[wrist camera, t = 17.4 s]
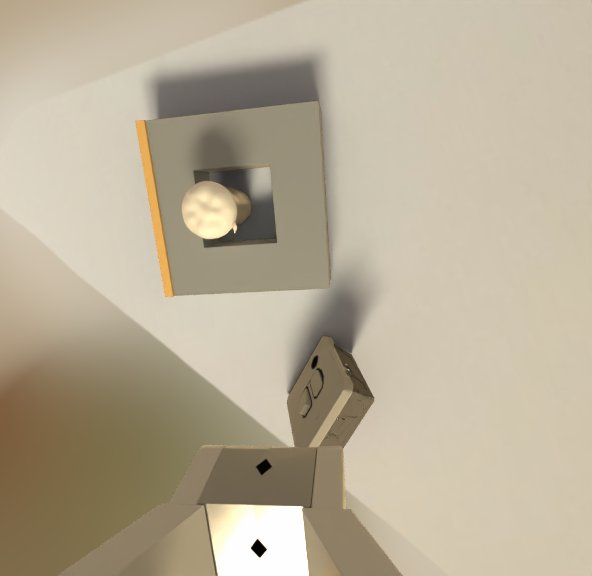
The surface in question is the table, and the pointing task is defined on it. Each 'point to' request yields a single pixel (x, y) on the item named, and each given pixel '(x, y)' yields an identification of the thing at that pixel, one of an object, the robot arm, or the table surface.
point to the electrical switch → (328, 398)
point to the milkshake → (214, 209)
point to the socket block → (233, 156)
